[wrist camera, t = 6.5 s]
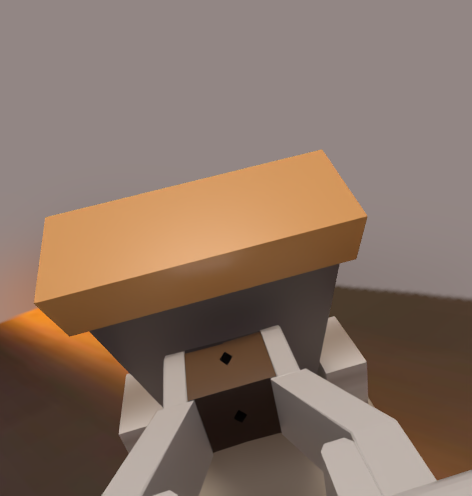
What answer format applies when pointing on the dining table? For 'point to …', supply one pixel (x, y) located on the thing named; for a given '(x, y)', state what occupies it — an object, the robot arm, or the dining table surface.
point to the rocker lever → (203, 263)
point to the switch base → (267, 448)
